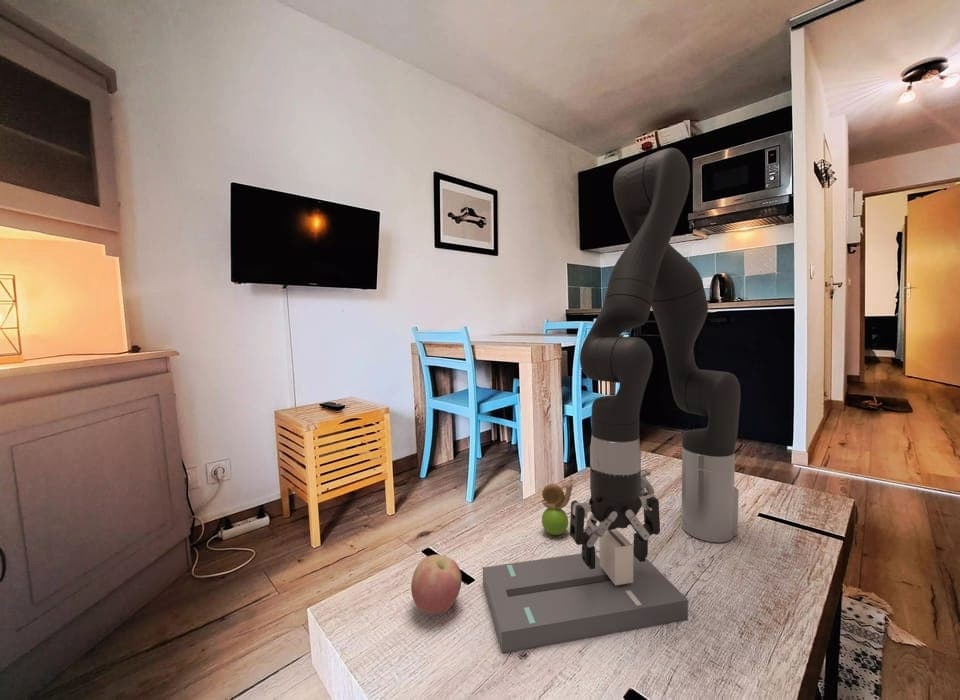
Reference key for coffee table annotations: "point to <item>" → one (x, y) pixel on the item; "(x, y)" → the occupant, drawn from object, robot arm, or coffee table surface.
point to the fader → (616, 557)
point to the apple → (436, 584)
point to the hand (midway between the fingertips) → (614, 562)
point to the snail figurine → (555, 508)
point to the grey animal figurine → (646, 481)
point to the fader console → (575, 601)
